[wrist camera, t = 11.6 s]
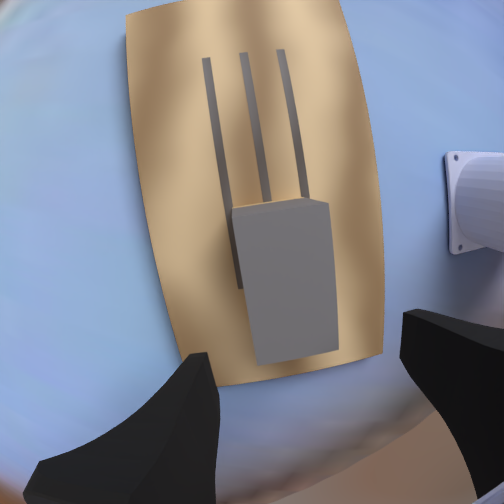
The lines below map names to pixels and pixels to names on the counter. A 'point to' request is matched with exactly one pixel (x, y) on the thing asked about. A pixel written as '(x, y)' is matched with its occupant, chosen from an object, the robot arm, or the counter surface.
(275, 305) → the block
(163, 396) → the robot arm
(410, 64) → the counter surface
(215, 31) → the board
